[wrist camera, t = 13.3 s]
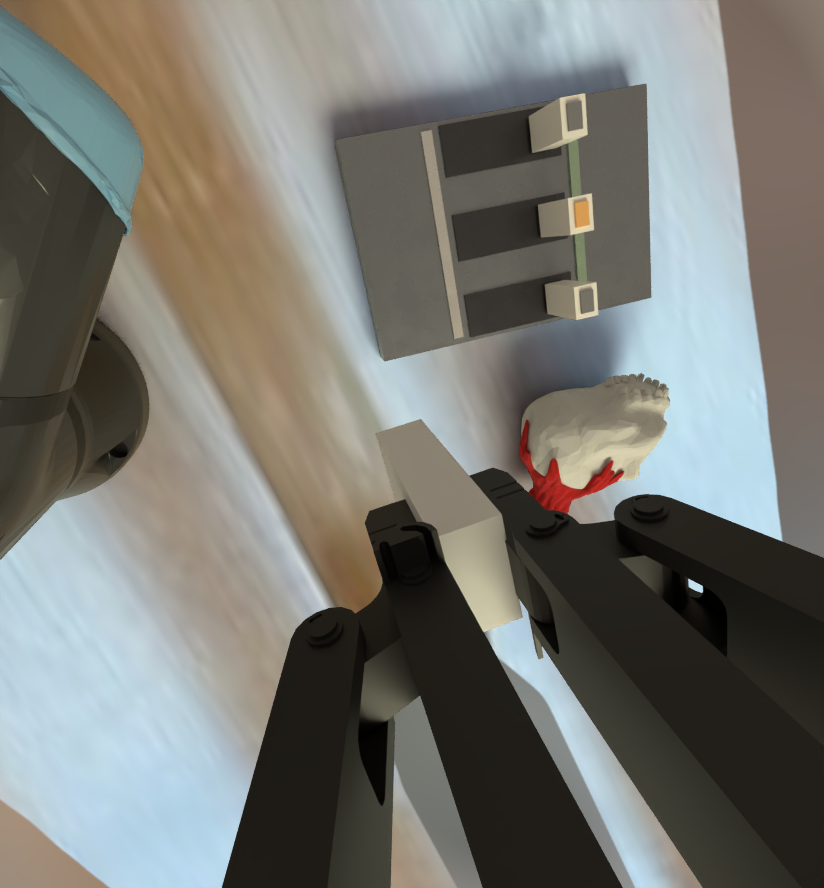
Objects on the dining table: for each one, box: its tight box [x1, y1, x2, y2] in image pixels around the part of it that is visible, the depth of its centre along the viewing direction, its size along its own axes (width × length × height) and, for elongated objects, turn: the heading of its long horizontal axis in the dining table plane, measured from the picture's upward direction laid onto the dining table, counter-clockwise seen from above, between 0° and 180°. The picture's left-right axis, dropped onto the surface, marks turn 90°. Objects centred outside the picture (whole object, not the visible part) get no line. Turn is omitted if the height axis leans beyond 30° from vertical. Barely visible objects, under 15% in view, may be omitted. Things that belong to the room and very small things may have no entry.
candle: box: [519, 373, 670, 514], centre depth 47 cm, size 9×11×15 cm
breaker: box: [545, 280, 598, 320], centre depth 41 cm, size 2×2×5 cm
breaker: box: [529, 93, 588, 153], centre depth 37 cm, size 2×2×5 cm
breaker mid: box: [538, 193, 594, 238], centre depth 39 cm, size 2×2×5 cm
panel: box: [335, 84, 651, 361], centre depth 42 cm, size 24×16×2 cm, turn 101°
